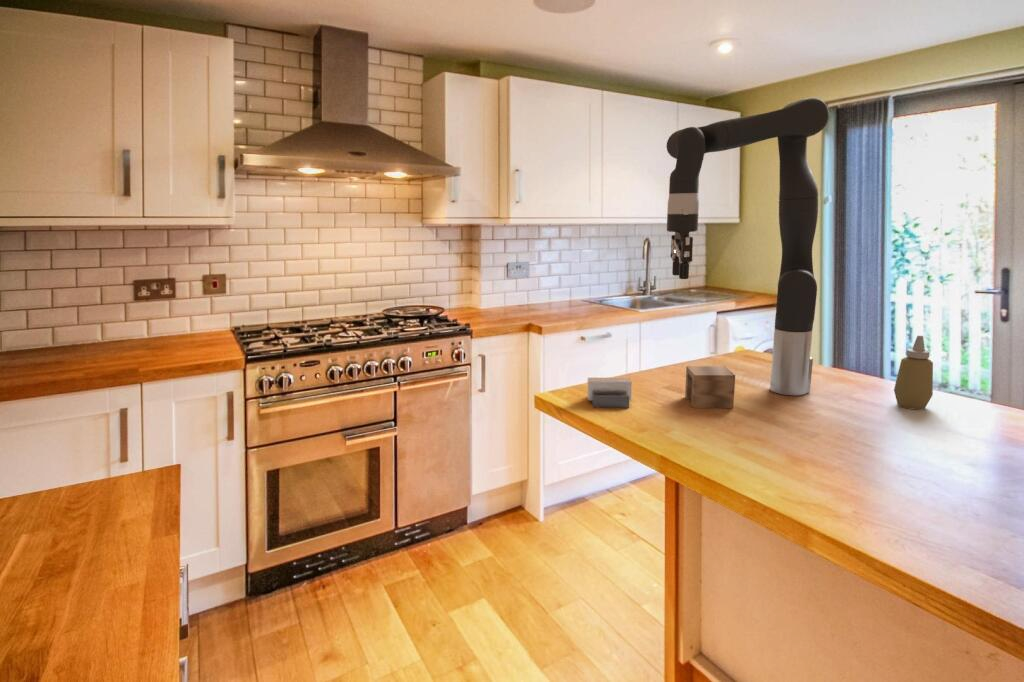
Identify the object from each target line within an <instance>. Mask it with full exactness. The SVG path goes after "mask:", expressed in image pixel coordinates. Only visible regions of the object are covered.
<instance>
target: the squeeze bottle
mask: <svg viewBox="0 0 1024 682" xmlns="http://www.w3.org/2000/svg"><path fill="white" fill-rule="evenodd" d="M924 342H925V341H924V336H923V335H917V336H916V338H915V341H914V343H913V346H912V348H908V349H907V350H906V354H905V355H906V356H905V357H903V358H901V359H900V360H901V361H900V365H899V368H898V372H897V376H896V381H895V385H894V387H893V388H894V389H893V392H894V395H895V399H896V404H897V405H898V406H899V407H901V408H905V409H909V410H925V409H926V407H927V405H928V404H929V402H930V401H931V399H932V397H933V393H934V392H933V390H934V387H933V386H934V363H933V361H932V360H931V359H929V358H930V351H929V350H927V349H926V347H925V343H924Z"/></svg>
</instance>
